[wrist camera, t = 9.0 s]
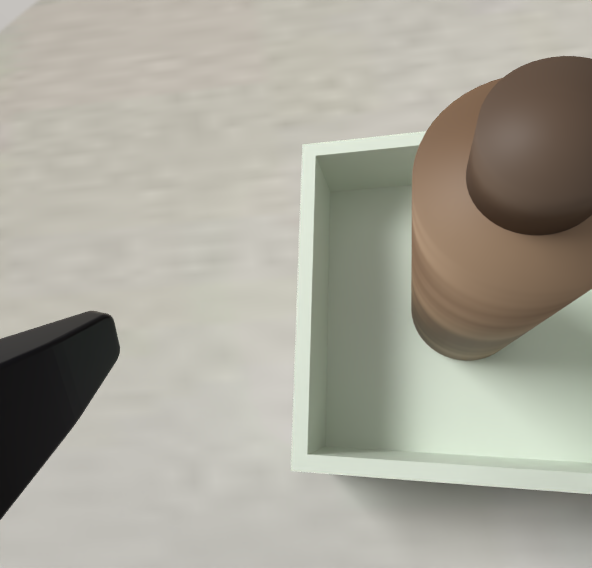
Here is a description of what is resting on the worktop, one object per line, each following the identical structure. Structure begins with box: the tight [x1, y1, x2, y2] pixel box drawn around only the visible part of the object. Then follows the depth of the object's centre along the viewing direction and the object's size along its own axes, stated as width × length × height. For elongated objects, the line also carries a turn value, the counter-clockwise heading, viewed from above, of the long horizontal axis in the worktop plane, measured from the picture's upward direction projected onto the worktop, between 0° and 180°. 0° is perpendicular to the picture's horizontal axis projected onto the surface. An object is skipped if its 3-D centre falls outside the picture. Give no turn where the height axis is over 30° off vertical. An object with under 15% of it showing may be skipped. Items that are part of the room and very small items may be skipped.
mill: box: [411, 56, 592, 361], centre depth 13 cm, size 4×4×14 cm
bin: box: [291, 131, 592, 494], centre depth 18 cm, size 13×13×4 cm
